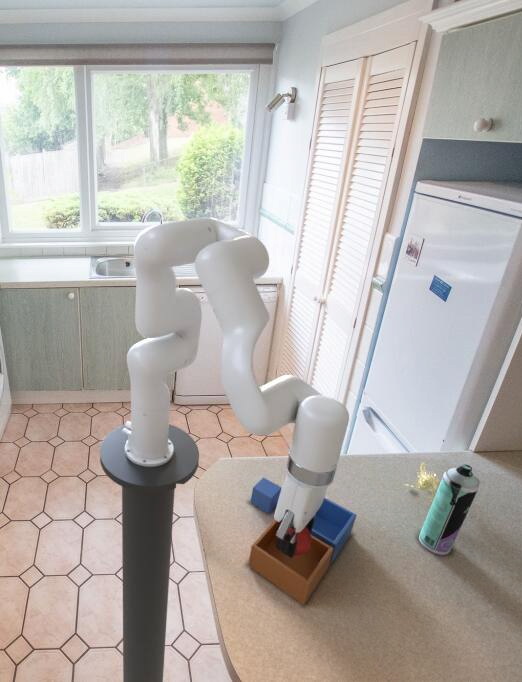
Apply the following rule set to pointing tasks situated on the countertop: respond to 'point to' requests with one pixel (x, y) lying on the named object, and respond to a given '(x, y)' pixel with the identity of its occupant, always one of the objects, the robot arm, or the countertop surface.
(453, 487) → the spray can
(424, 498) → the countertop surface
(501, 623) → the countertop surface
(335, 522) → the blue bin
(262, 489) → the blue block
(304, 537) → the onion
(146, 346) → the robot arm
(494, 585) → the countertop surface
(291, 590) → the brown bin
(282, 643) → the countertop surface
